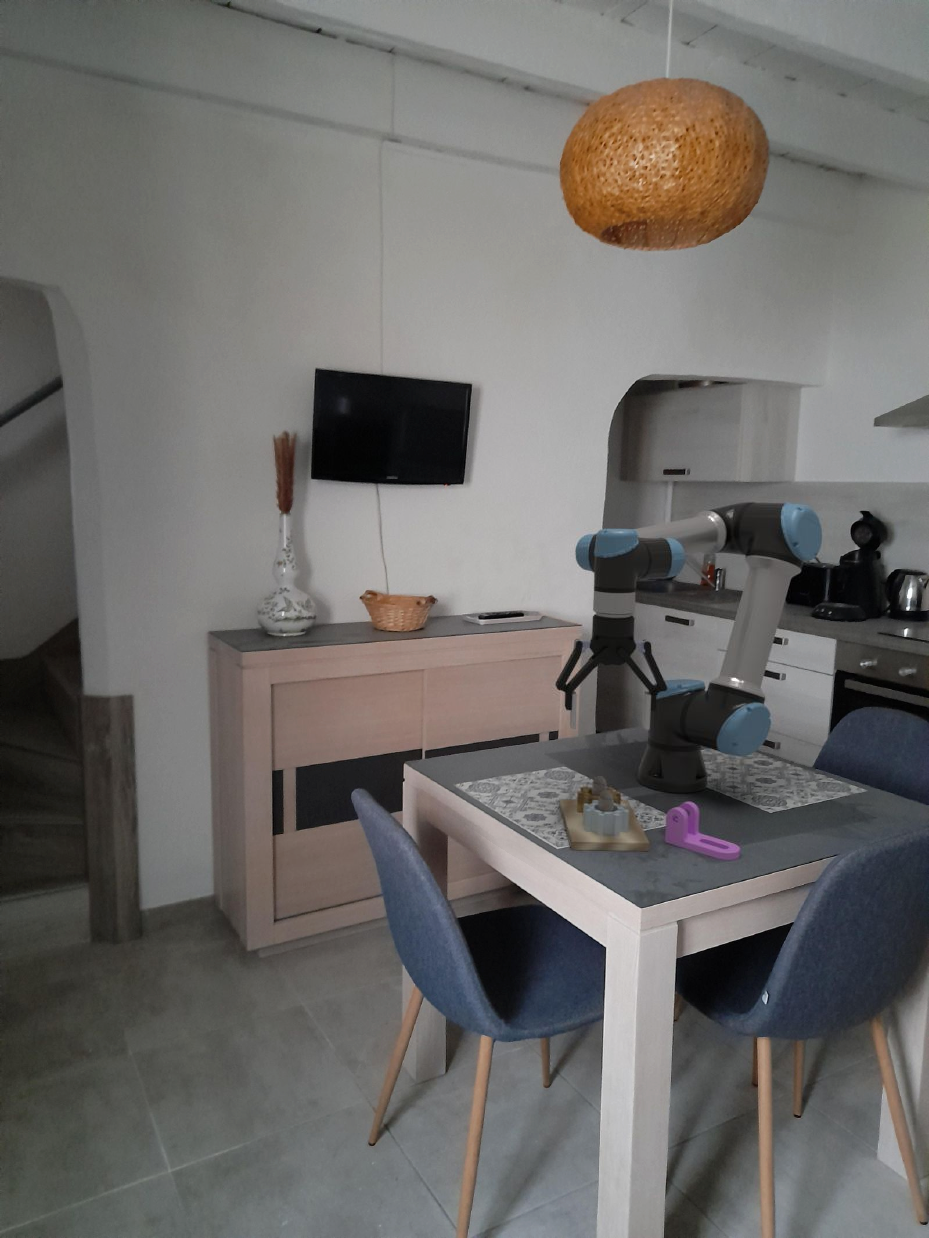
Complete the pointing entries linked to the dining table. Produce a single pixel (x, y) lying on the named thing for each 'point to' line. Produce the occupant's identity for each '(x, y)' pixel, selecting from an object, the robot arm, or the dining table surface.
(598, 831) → the gear
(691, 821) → the bracket
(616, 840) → the gear board
